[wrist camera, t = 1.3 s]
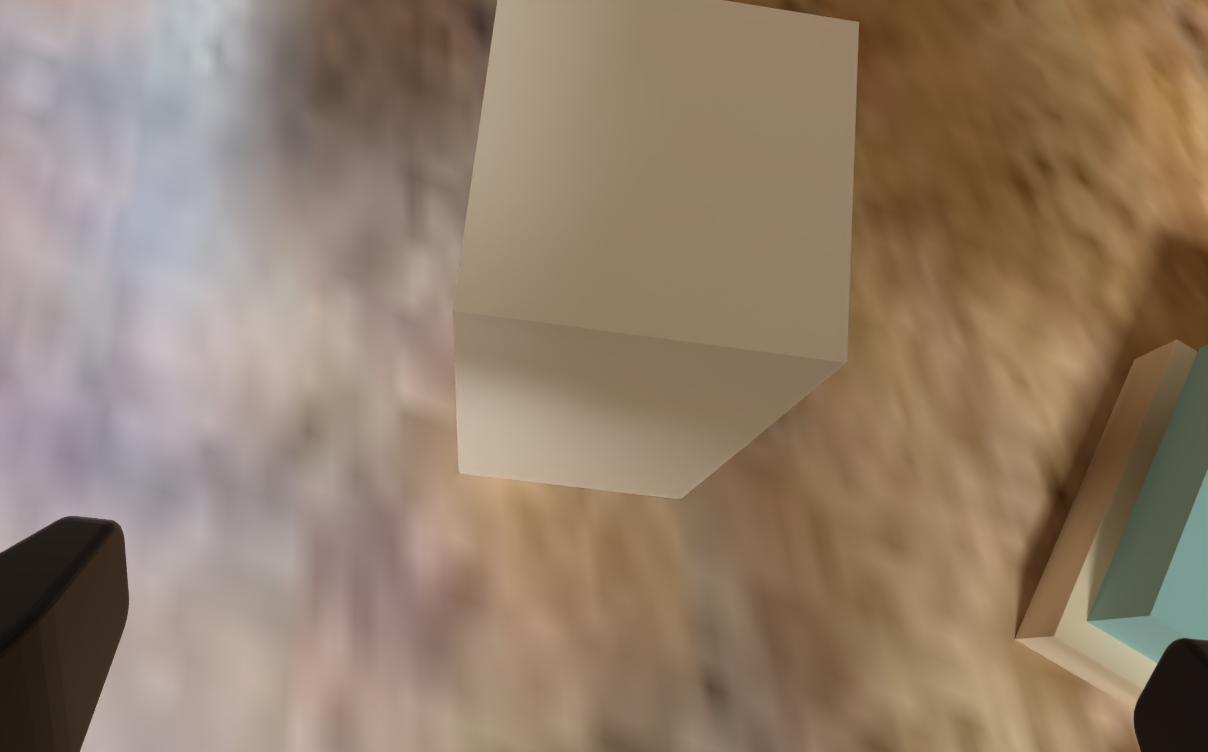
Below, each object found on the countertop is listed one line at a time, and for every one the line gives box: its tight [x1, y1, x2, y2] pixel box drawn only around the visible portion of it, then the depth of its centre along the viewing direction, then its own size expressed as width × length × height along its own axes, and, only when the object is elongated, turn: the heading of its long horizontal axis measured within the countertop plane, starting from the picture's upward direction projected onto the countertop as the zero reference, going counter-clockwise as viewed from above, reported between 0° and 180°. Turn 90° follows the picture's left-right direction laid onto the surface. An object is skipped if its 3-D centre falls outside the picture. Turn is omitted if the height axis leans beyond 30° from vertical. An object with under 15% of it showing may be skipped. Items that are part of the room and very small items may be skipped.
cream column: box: [453, 0, 859, 499], centre depth 17 cm, size 4×4×10 cm
